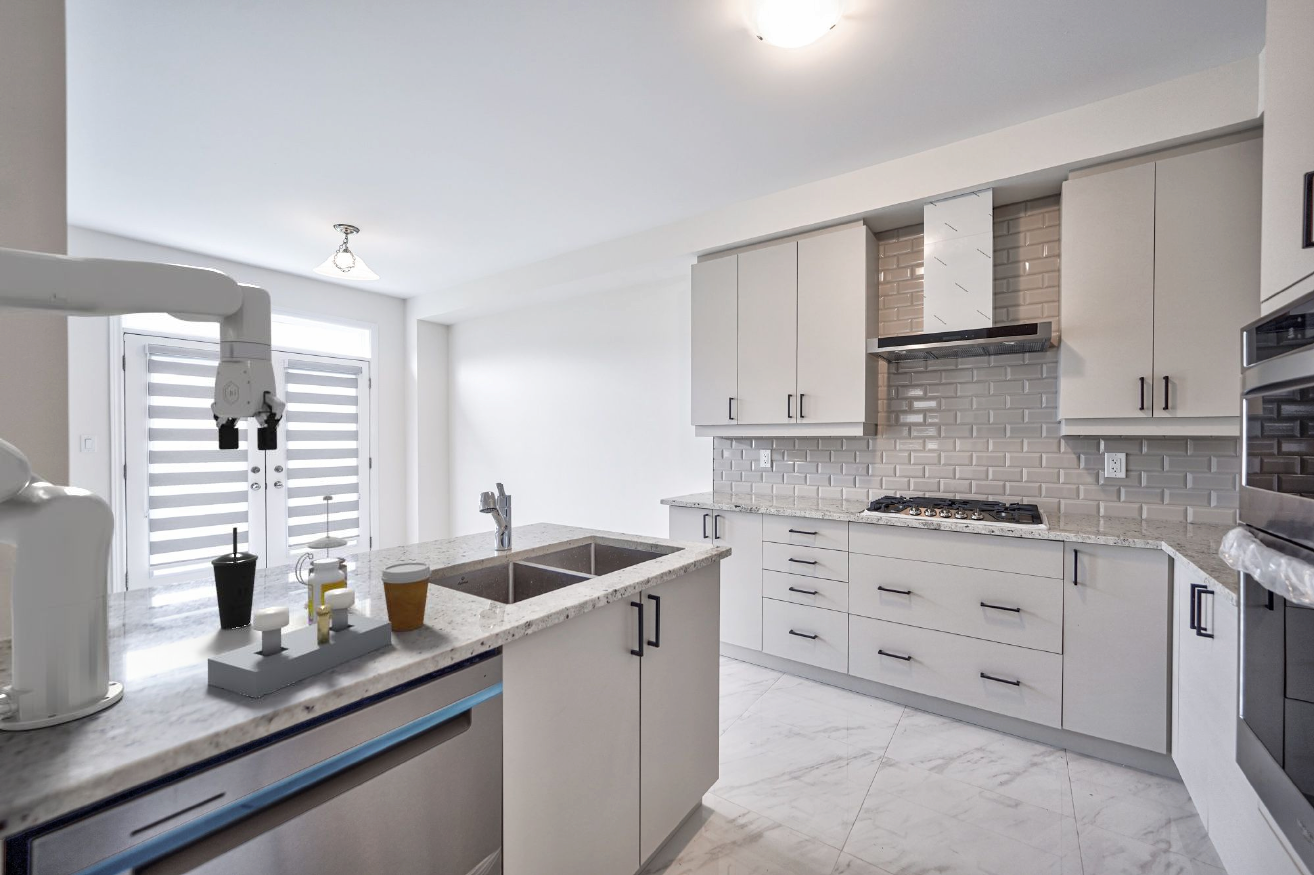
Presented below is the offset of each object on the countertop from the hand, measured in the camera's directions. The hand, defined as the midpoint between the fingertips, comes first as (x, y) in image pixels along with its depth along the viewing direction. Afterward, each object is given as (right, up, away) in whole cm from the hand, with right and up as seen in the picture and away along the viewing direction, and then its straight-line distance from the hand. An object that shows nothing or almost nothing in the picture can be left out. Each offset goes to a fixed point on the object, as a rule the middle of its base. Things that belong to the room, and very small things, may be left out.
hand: (247, 449), depth 102 cm
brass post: (+18, -32, -7) cm, 38 cm away
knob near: (+12, -32, -11) cm, 36 cm away
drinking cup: (-12, -36, +13) cm, 40 cm away
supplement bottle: (+6, -36, +15) cm, 40 cm away
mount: (+14, -36, -5) cm, 39 cm away
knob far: (+17, -32, 0) cm, 36 cm away
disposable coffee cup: (+23, -36, +13) cm, 45 cm away
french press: (-2, -36, +27) cm, 45 cm away
